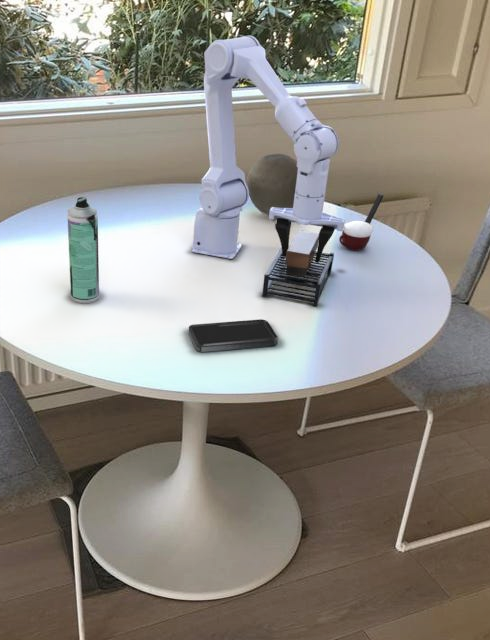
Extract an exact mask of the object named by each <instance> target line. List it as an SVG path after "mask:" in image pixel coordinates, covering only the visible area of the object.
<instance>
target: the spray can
mask: <svg viewBox="0 0 490 640" xmlns="http://www.w3.org/2000/svg"><path fill="white" fill-rule="evenodd" d="M97 213H98V211H97V209H96V208H94V207H92V206H91V205H90V204H89V202H88V199H87V198H86V197H83V196H82V197H81V196H80V197H78V198H76V203H75V204H74V206H73V207H70V208H68V211H67V236H68V238H67V239H68V260H69V282H70V283H69V284H70V298H71V300H72V301H73V302H76V303H78V304H91V303H94V302H95V303H96V302H97V301H98V300H99V299H100V269H99V268H100V266H99V264H100V263H99V262H100V261H99V228H98V227H99V222H98V221H99V220H98V216H99V215H98V214H97Z"/></svg>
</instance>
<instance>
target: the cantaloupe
mask: <svg viewBox="0 0 490 640" xmlns="http://www.w3.org/2000/svg"><path fill="white" fill-rule="evenodd" d="M297 173H298V167H297V159H294V158H293V157H292V156H289V155H287V154H284V153H272V154H271V153H270V154H266V155H263V156H262V157H260V158H258V159H257V161H256V162H254V164H253V165H252V166H251V168H250V169H249V171H248V174H247V178H246V184H247V187H248V190H249V199H250V201H251V203H252V204H253V206H254V207H255V208H256V210H258V211H259V212H261V213H263V214H265V215H268V216H269V212H270V209H271V208H272V207H276V208H293V204H294V196H295V189H296V181H297Z"/></svg>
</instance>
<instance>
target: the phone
mask: <svg viewBox="0 0 490 640" xmlns="http://www.w3.org/2000/svg"><path fill="white" fill-rule="evenodd" d="M188 335H189V337H190V340H191V341H192V344H193V347H194V349H195V350H196V351H197V352H200V353H207V352H208V353H209V352H218V351H219V352H220V351H231V350H243V349H254V348H255V349H257V348H267V347H268V348H269V347H275V346H278V342H279V337H278V335H277V333H276V332H275V331H274V329H273V328H272V325H271V324H270V323H269V321H268V320H266V319H264V318H263V319H262V318H261V319H248V320H235V321H233V320H232V321H223V322H222V321H221V322H209V323H208V322H207V323H196V324H195V323H194V324H190V325H188Z"/></svg>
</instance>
